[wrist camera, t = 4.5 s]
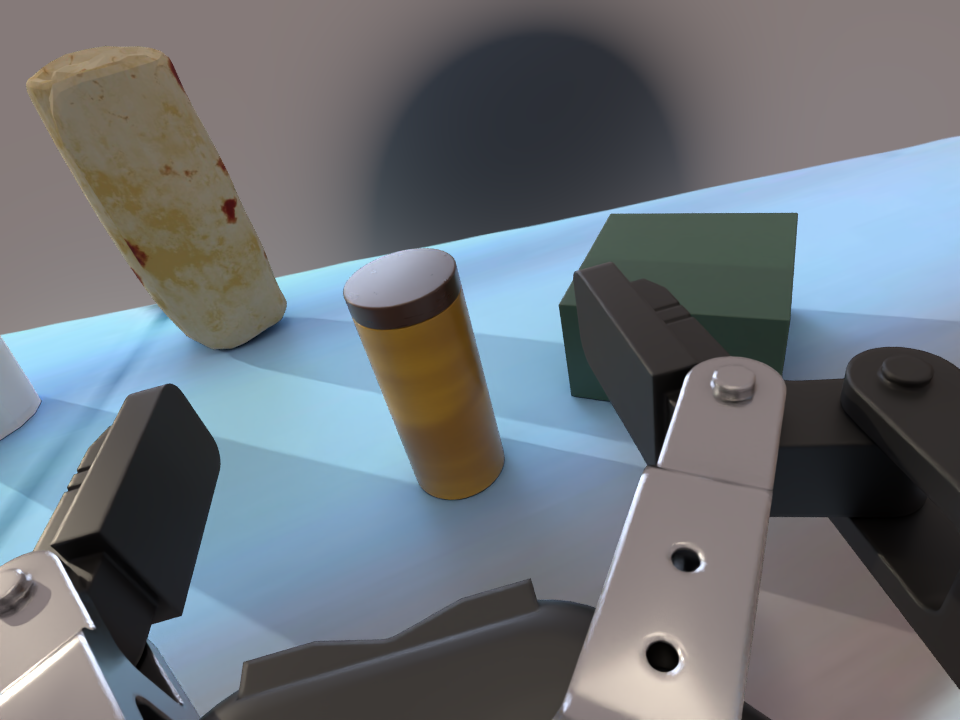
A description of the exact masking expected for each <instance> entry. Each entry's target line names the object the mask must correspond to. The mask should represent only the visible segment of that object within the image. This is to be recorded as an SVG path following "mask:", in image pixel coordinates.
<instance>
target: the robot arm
mask: <svg viewBox="0 0 960 720" xmlns="http://www.w3.org/2000/svg"><path fill="white" fill-rule="evenodd" d="M573 283H574V291H575V299H576V307H577V315H578V322H579V330H580V338H581V343H582V347H583V350H584V353H585V356H586V359H587V361H588V364H589V366H590V367H591V369H592V371H593V373H594V374H595V376H596V378H597V379H598V381H599V383H600V385H601V386H602V388H603V390H604V391H605V393H606V395H607V397H608V398H609V400H610V402H611V403H612V405H613V407H614V409H615V410H616V412H617V414H618V415H619V417H620V419H621V421H622V422H623V424H624V426H625V427H626V429H627V431H628V433H629V434H630V436H631V438H632V439H633V441H634V443H635V445H636V446H637V448H638V450H639V451H640V453H641V455H642V457H643V458H644V460H645V462H646V463H647V466H646V468H645V469H644V471H643V474H642V476H641V479H640V481H639V484H638V487H637V490H636V493H635V496H634V499H633V502H632V505H631V508H630V511H629V513H628V516H627V519H626V522H625V525H624V528H623V531H622V534H621V537H620V540H619V543H618V545H617V548H616V551H615V554H614V557H613V560H612V563H611V566H610V569H609V572H608V575H607V577H606V580H605V583H604V586H603V589H602V592H601V595H600V598H599V601H598V604H597V607H596V608H594V607H591V606H589V605H584V604H580V603H575V602H571V601H561V600H537V599H536V595H535V592H534V588H533V585H532V581H531V578H530V579H527V580H523V581H520V582H517V583H513V584H510V585H506V586H503V587H499V588H496V589H492V590H489V591H486V592H482V593H479V594H475V595H472V596H468V597H465V598H462V599H459V600H458V601H456V602H454V603H452V604H451V605H449V606H447V607H445V608H444V609H442V610H440V611H438V612H436V613H435V614H433V615H431V616H429V617H428V618H426V619H424V620H422V621H421V622H419V623H417V624H415V625H413V626H412V627H410V628H408V629H406V630H405V631H403V632H401V633H399V634H397V635H396V636H393V637H391V638H388V639H381V640H346V641H314V642H311V643H307V644H304V645H300V646H297V647H294V648H290V649H287V650H283V651H280V652H276V653H273V654H270V655H266V656H263V657H259V658H256V659H252V660H249V661H246V662H243V668H242V675H241V681H240V688H239V690H238V691H236V692H234V693H233V694H231V695H230V696H229V697H227V698H226V699H224V700H223V701H221V702H220V703H219V704H217V705H216V706H215V707H213V708H212V709H211V710H210V711H209V712H208V713H206V714H205V715H204V716H203V717H202V718H201V717H200V716H199V714H198V713H197V711H196V710H195V708H194V706H193V705H192V703H191V702H190V700H189V698H188V697H187V695H186V693H185V692H184V690H183V689H182V687H181V685H180V684H179V682H178V681H177V679H176V677H175V676H174V674H173V673H172V671H171V669H170V668H169V666H168V665H167V663H166V661H165V660H164V658H163V657H162V655H161V653H160V652H159V650H158V649H157V647H156V646H155V645H154V644H153V643H152V642H151V641H150V640H149V639H148V638H147V637H148V634H149V631H150V627H151V624H155V623H158V622H162V621H165V620H169V619H172V618H176V617H179V616H182V613H183V609H184V605H185V601H186V598H187V594H188V590H189V586H190V582H191V578H192V575H193V571H194V567H195V563H196V559H197V555H198V552H199V548H200V544H201V540H202V536H203V532H204V529H205V525H206V521H207V517H208V513H209V509H210V505H211V502H212V498H213V494H214V490H215V486H216V482H217V479H218V475H219V471H220V454H219V450H218V447H217V444H216V442H215V440H214V438H213V437H212V435H211V434H210V432H209V431H208V429H207V428H206V426H205V425H204V423H203V422H202V421H201V419H200V418H199V416H198V415H197V413H196V412H195V410H194V409H193V407H192V406H191V404H190V403H189V401H188V400H187V398H186V397H185V396H184V394H183V393H182V391H181V390H180V389H179V388H178V387H177V386H175V385H173V384H165V385H162V386H158V387H154V388H151V389H147V390H144V391H140V392H136V393H133V394H130V395H129V396H127V398H126V399H125V401H124V403H123V405H122V407H121V409H120V411H119V413H118V415H117V417H116V419H115V420H114V422H113V424H112V426H109V427H108V428H107V429H106V430H105V432H104V433H103V434H102V435H101V436H100V437H99V438H98V439H97V440H96V441H95V442H94V443H93V444H92V445H91V446H90V447H89V448H88V450H87V452H86V454H85V456H84V457H83V459H82V461H81V463H80V465H79V467H78V468H77V471H78V473H77V474H74V476H73V478H72V480H71V481H70V483H69V485H68V487H67V489H68V492H65V493H64V494H63V496H62V498H61V500H60V502H59V504H58V505H57V507H56V509H55V511H54V513H53V515H52V517H51V518H50V520H49V522H48V524H47V526H46V528H45V530H44V531H43V533H42V535H41V537H40V539H39V541H38V542H37V544H36V546H35V548H34V550H33V552H30V553H27V554H24V555H21V556H19V557H17V558H14V559H13V560H11V561H9V562H7V563H5V564H4V565H2V566H1V567H0V720H771V719H770V718H768V717H767V716H765V715H764V714H762V713H761V712H759V711H758V710H756V709H755V708H753V707H752V706H750V705H749V704H747V703H746V702H745V701H744V696H745V689H746V682H747V674H748V667H749V660H750V653H751V645H752V638H753V631H754V624H755V617H756V609H757V602H758V595H759V588H760V581H761V573H762V566H763V559H764V552H765V544H766V537H767V530H768V523H769V517H828V518H829V519H830V520H831V521H832V523H833V524H834V525H835V527H836V528H837V529H838V531H839V532H840V533H841V535H842V536H843V537H844V539H845V540H846V541H847V542H848V544H849V545H850V546H851V548H852V549H853V550H854V552H855V553H856V554H857V556H858V557H859V558H860V559H861V561H862V562H863V563H864V565H865V566H866V567H867V569H868V570H869V571H870V573H871V574H872V575H873V577H874V578H875V579H876V580H877V582H878V583H879V584H880V586H881V587H882V588H883V590H884V591H885V592H886V594H887V595H888V596H889V598H890V599H891V600H892V601H893V603H894V604H895V605H896V607H897V608H898V609H899V611H900V612H901V613H902V615H903V616H904V617H905V619H906V620H907V621H908V622H909V624H910V625H911V626H912V628H913V629H914V630H915V632H916V633H917V634H918V636H919V637H920V638H921V639H922V641H923V642H924V643H925V645H926V646H927V647H928V649H929V650H930V651H931V653H932V654H933V655H934V657H935V658H936V659H937V660H938V662H939V663H940V664H941V666H942V667H943V668H944V670H945V671H946V672H947V674H948V675H949V676H950V678H951V679H952V680H953V681H954V683H955V684H956V685H957V687H958V688H959V689H960V369H959V368H958V367H956V366H955V365H953V364H952V363H950V362H949V361H947V360H945V359H943V358H941V357H939V356H937V355H934V354H931V353H928V352H925V351H921V350H917V349H911V348H903V347H881V348H875V349H870V350H867V351H864V352H862V353H860V354H858V355H856V356H855V357H853V358H852V359H851V361H850V362H849V363H848V366H847V369H846V373H845V378H844V379H826V380H805V381H789V380H783V378H782V376H781V375H780V374H779V373H778V372H777V371H776V370H774V369H773V368H772V367H770V366H768V365H766V364H764V363H762V362H759V361H757V360H753V359H749V358H744V357H733V356H730V354H729V353H728V352H727V351H726V350H725V349H724V348H723V347H722V346H721V345H720V344H719V343H718V342H717V341H716V340H715V339H714V338H713V337H712V336H711V335H710V334H709V332H708V331H707V330H706V329H705V328H704V327H703V326H702V325H701V324H700V323H699V322H698V321H697V320H696V319H695V318H694V317H691V314H690V313H689V312H688V310H687V309H686V308H685V307H684V306H683V305H680V303H679V301H678V300H677V299H676V298H675V297H674V296H673V295H672V294H671V293H670V292H669V291H668V290H667V288H665V287H663V286H661V285H658V284H656V283H654V282H651V281H649V280H647V279H644V278H643V279H639V280H635V281H632V282H630V281H629V280H628V279H627V278H626V277H625V276H624V274H623V273H622V272H621V271H620V270H619V269H618V267H617V266H616V265H615V264H614V263H613V262H607V263H603V264H600V265H596V266H593V267H589V268H585V269H582V270H578V271H575V272H574V275H573Z"/></svg>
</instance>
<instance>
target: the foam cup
mask: <svg viewBox="0 0 960 720" xmlns="http://www.w3.org/2000/svg"><path fill="white" fill-rule="evenodd" d="M40 403H41V400H40V398H39V396H38V394H37V393H36V391H35V389H34V387H33V386H32V384H31V382H30V381H29V379H28V378H27V376H26V375H25V373H24V372H23V370H22V368H21V367H20V365H19V364H18V362H17V361H16V359H15V357H14V356H13V354H12V353H11V351H10V350H9V348H8V346H7V345H6V343H5V342H4V340H3V339H2V337H1V335H0V440H1V439H3V438H4V437H6V436H7V435H9V434H10V433H12V432H13V431H15V430H16V429H18V428H19V427H21V426H22V425H23V424H24V423H25V422H26V421H27V420H28V419H29V418H30V417H31V416H32V415H33V414H35V412H36V411H37V409H38V407H39V405H40Z"/></svg>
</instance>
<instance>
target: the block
mask: <svg viewBox="0 0 960 720" xmlns="http://www.w3.org/2000/svg"><path fill="white" fill-rule="evenodd" d="M797 221H798V213H674V214H610V216H609V217H608V219H607V221H606V223H605V224H604V226H603V228H602V230H601V231H600V233H599V235H598V237H597V238H596V240H595V242H594V244H593V245H592V247H591V249H590V251H589V252H588V254H587V256H586V258H585V260H584V261H583V263H582V265H581V267H580V268H579V270H582V269H585V268H589V267H593V266H596V265H600V264H603V263H607V262H613V263H614V264H615V265H616V266H617V267H618V269H619V270H620V271H621V272H622V273H623V274H624V276H625V277H626V278H627V279H628V280H629V281H630V282H632V281H635V280H639V279H643V278H644V279H647V280H649V281H651V282H654V283H656V284H658V285H661V286H663V287H665V288H667V290H668V291H669V292H670V293H671V294H672V295H673V296H674V297H675V298H676V299H677V300H678V301H679V303H680V305H683V306H684V307H685V308H686V309H687V310H688V312H689V313H690V314H691V317H694V318H695V319H696V320H697V321H698V322H699V323H700V324H701V325H702V326H703V327H704V328H705V329H706V330H707V331H708V332H709V334H710V335H711V336H712V337H713V338H714V339H715V340H716V341H717V342H718V343H719V344H720V345H721V346H722V347H723V348H724V349H725V350H726V351H727V352H728V353H729V354H730V356H733V357H744V358H749V359H753V360H757V361H759V362H762V363H764V364H766V365H768V366H770V367H772V368H773V369H774V370H776V371H777V372H778V373H779V374H780V375H781V376H782V373H783V366H784V359H785V352H786V346H787V339H788V332H789V325H790V316H791V303H792V289H793V276H794V262H795V249H796V235H797ZM559 310H560V317H561V324H562V332H563V339H564V346H565V353H566V360H567V367H568V374H569V382H570V389H571V395H572V396H576V397H583V398H591V399H598V400H605V401H610V400H609V398H608V397H607V395H606V393H605V391H604V390H603V388H602V386H601V385H600V383H599V381H598V379H597V378H596V376H595V374H594V373H593V371H592V369H591V367H590V366H589V364H588V361H587V359H586V356H585V353H584V350H583V347H582V343H581V338H580V330H579V322H578V315H577V307H576V299H575V291H574V283H573V281H572V282H571V284H570V286H569V288H568V289H567V291H566V293H565V295H564V296H563V298H562V300H561V302H560V303H559Z"/></svg>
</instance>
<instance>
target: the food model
mask: <svg viewBox="0 0 960 720" xmlns="http://www.w3.org/2000/svg"><path fill="white" fill-rule="evenodd" d="M26 87H27V92H28V94H29V96H30V98H31V100H32V102H33V104H34V106H35V108H36V109H37V111H38V113H39V115H40V117H41V119H42V121H43V123H44V124H45V126H46V128H47V130H48V132H49V134H50V135H51V137H52V139H53V141H54V143H55V144H56V146H57V148H58V150H59V152H60V153H61V155H62V157H63V159H64V160H65V162H66V164H67V166H68V167H69V169H70V170H71V173H72V174H73V176H74V178H75V179H76V181H77V183H78V184H79V186H80V188H81V189H82V191H83V193H84V195H85V196H86V198H87V200H88V201H89V203H90V205H91V206H92V208H93V210H94V211H95V213H96V215H97V216H98V218H99V219H100V221H101V223H102V224H103V226H104V227H105V229H106V231H107V232H108V234H109V235H110V237H111V238H112V240H113V242H114V243H115V244H116V246H117V248H118V249H119V251H120V252H121V254H122V255H123V257H124V258H125V260H126V261H127V263H128V264H129V266H130V267H131V269H132V270H133V272H134V273H135V274H136V276H137V278H138V279H139V280H140V282H141V283H142V285H143V286H144V287H145V288H146V290H147V292H148V293H149V294H150V296H151V297H152V299H153V300H154V301H155V302H156V303H157V304H158V306H159V307H160V308H161V309H162V310H163V312H164V313H165V314H166V315H167V316H168V317H169V318H170V319H171V320H172V321H173V322H174V323H175V325H176V326H178V327H179V328H180V329H181V330H182V331H183V332H184V333H185V334H186V336H188V337H189V338H191V339H193V340H194V341H197V342H199V343H201V344H203V345H205V346H207V347H209V348H211V349H232V348H235V347H237V346H239V345H242V344H244V343H246V342H248V341H249V340H251V339H252V338H254V337H255V336H257V335H258V334H259V333H261V332H262V331H264V330H265V329H267V328H269V327H270V326H272V325H274V324H276V323H277V322H278V321H280V320H281V319H282V317H283V315H284V313H285V310H286V307H287V302H286V300H285V297H284V295H283V294H282V292H281V290H280V288H279V286H278V284H277V282H276V279H275V277H274V275H273V272H272V269H271V267H270V264H269V261H268V259H267V256H266V254H265V251H264V248H263V246H262V244H261V242H260V240H259V238H258V236H257V234H256V231H255V229H254V228H253V225H252V224H251V222H250V220H249V218H248V216H247V214H246V212H245V210H244V208H243V206H242V203H241V201H240V199H239V197H238V195H237V192H236V190H235V188H234V185H233V183H232V180H231V178H230V176H229V174H228V172H227V170H226V168H225V166H224V164H223V162H222V160H221V158H220V156H219V154H218V152H217V150H216V148H215V146H214V144H213V142H212V141H211V139H210V137H209V135H208V133H207V131H206V129H205V127H204V126H203V124H202V122H201V120H200V118H199V117H198V115H197V113H196V111H195V110H194V108H193V106H192V104H191V102H190V100H189V98H188V96H187V95H186V93H185V91H184V88H183V86H182V84H181V82H180V80H179V78H178V75H177V73H176V70H175V68H174V66H173V64H172V62H171V60H170V59H169V57H167V56H166V55H165V54H164V53H162V52H161V51H159V50H155V49H152V48H147V47H139V46H137V47H110V46H103V47H98V48H91V49H85V50H82V51H78V52H74V53H70V54H66V55H63V56H62V57H60V58H58V59H56V60H54V61H52V62H50V63H49V64H47V65H46V66H45V67H43V68H41V69H40V70H39V71H38V72H37V73H36V74H35V75H34V76H32V77H31V78H29V79H28V81H27V83H26Z"/></svg>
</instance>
